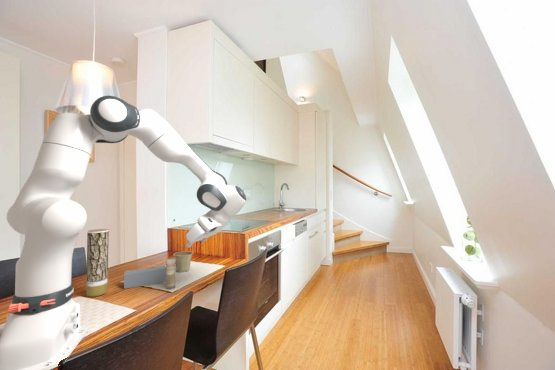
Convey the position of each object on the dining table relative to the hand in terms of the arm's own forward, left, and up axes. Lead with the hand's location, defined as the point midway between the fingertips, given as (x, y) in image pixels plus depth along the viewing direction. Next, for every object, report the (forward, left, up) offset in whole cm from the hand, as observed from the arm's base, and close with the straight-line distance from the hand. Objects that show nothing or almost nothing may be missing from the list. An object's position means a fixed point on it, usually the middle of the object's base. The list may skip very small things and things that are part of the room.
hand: (194, 243), depth 102 cm
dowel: (+8, +8, -19) cm, 22 cm away
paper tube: (+15, +34, -19) cm, 42 cm away
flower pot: (+29, 0, -19) cm, 35 cm away
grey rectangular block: (+18, +17, -19) cm, 31 cm away
